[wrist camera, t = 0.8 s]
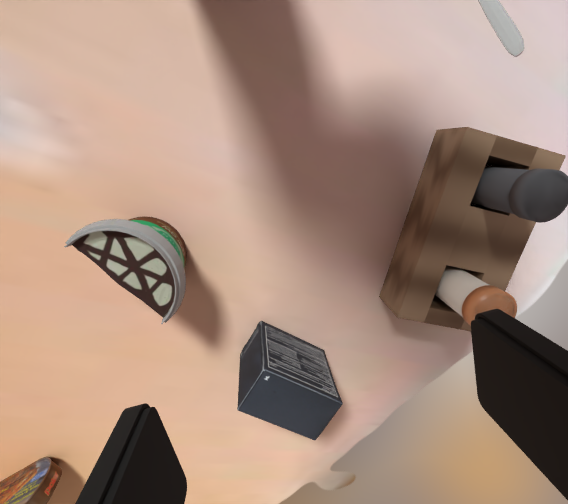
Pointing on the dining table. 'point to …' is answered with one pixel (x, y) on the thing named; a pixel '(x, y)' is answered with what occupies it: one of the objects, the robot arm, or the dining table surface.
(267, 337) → the small box
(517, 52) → the butter knife
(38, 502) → the tin
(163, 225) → the food container
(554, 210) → the black plug
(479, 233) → the block
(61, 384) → the dining table surface
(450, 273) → the orange-brown and white plug
